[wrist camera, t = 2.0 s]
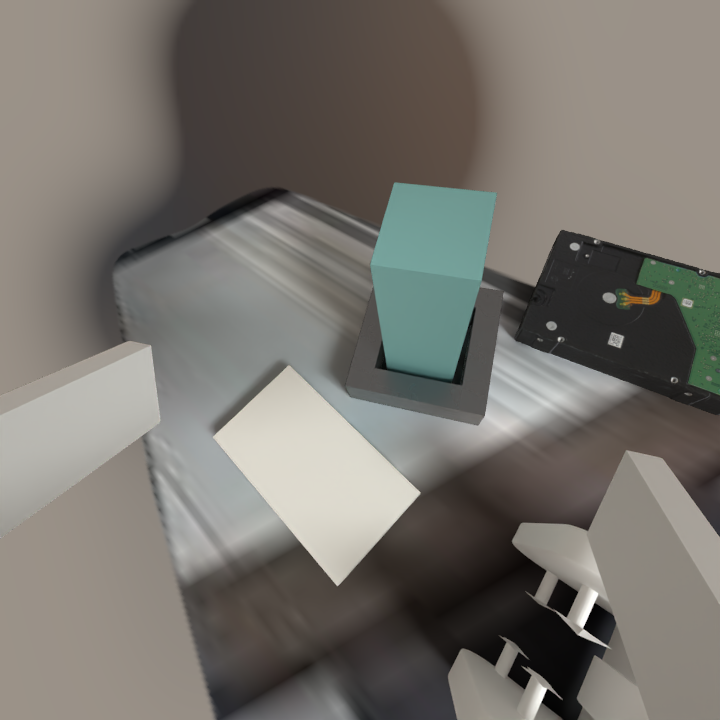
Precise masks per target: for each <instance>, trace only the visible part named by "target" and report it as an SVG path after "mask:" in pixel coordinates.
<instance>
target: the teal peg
mask: <svg viewBox="0 0 720 720" xmlns="http://www.w3.org/2000/svg"><path fill="white" fill-rule="evenodd" d="M496 196H497V193H494V192H484V191H475V190H465V189H454V188H445V187H434V186H424V185H415V184H405V183H394V185H393V189H392V192H391V196H390V199H389V202H388V206H387V209H386V212H385V216H384V219H383V223H382V226H381V229H380V233H379V236H378V239H377V243H376V246H375V250H374V253H373V256H372V260H371V263H370V267H371V273H372V279H373V285H374V291H375V298H376V304H377V310H378V316H379V322H380V328H381V334H382V340H383V346H384V352H385V358H386V364H387V370H388V371H392V372H397V373H402V374H407V375H411V376H416V377H421V378H426V379H431V380H436V381H441V382H446V383H452V380H453V377H454V373H455V370H456V366H457V363H458V359H459V356H460V353H461V349H462V346H463V342H464V339H465V335H466V332H467V329H468V325H469V322H470V318H471V315H472V311H473V308H474V305H475V301H476V298H477V294H478V291H479V288H480V284H481V281H482V275H483V269H484V264H485V258H486V252H487V247H488V241H489V235H490V229H491V224H492V218H493V212H494V207H495V201H496Z"/></svg>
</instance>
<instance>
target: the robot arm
mask: <svg viewBox="0 0 720 720" xmlns="http://www.w3.org/2000/svg"><path fill="white" fill-rule="evenodd" d="M160 422H161V420H160V412H159V404H158V396H157V389H156V381H155V373H154V365H153V358H152V350H151V345H147V344H142V343H138V342H133V341H128V342H125V343H123V344H120V345H118V346H116V347H114V348H111V349H109V350H106V351H104V352H101V353H99V354H97V355H94V356H92V357H90V358H87V359H85V360H83V361H80V362H78V363H75V364H73V365H71V366H68V367H66V368H64V369H61V370H59V371H57V372H54V373H52V374H50V375H47V376H45V377H42V378H40V379H38V380H35V381H33V382H30V383H28V384H26V385H24V386H21V387H18V388H16V389H14V390H12V391H9V392H7V393H5V394H2V395H0V538H2V537H3V536H4V535H6V534H7V533H9V532H10V531H11V530H13V529H14V528H15V527H17V526H18V525H20V524H21V523H22V522H24V521H25V520H27V519H28V518H29V517H31V516H32V515H33V514H35V513H36V512H38V511H39V510H40V509H42V508H43V507H44V506H46V505H47V504H48V503H50V502H51V501H52V500H54V499H55V498H57V497H58V496H60V495H61V494H62V493H64V492H65V491H66V490H68V489H69V488H70V487H72V486H73V485H75V484H76V483H78V482H79V481H80V480H82V479H83V478H84V477H86V476H87V475H88V474H90V473H91V472H93V471H94V470H95V469H97V468H98V467H100V466H101V465H102V464H104V463H105V462H107V461H108V460H109V459H111V458H112V457H113V456H115V455H116V454H118V453H119V452H120V451H122V450H123V449H124V448H126V447H127V446H129V445H130V444H131V443H133V442H134V441H135V440H137V439H138V438H140V437H141V436H142V435H144V434H145V433H147V432H148V431H149V430H151V429H152V428H153V427H155V426H156V425H158V424H159V423H160ZM587 537H588V540H589V543H590V546H591V549H592V552H593V555H594V558H595V561H596V564H597V567H598V570H599V573H600V576H601V579H602V582H603V585H604V588H605V591H606V594H607V597H608V600H609V603H610V606H611V609H612V611H613V614H614V617H615V620H616V623H617V626H618V629H619V632H620V635H621V638H622V641H623V644H624V647H625V650H626V653H627V656H628V659H629V662H630V665H631V668H632V671H633V674H634V677H635V680H636V683H637V686H638V689H639V692H640V695H641V697H642V700H643V703H644V706H645V709H646V712H647V715H648V718H649V720H720V537H719V536H718V534H717V533H716V532H715V530H714V529H713V528H712V526H711V525H710V523H709V522H708V521H707V519H706V518H705V517H704V515H703V514H702V512H701V511H700V510H699V508H698V507H697V505H696V504H695V503H694V501H693V500H692V499H691V497H690V496H689V494H688V493H687V492H686V490H685V489H684V488H683V486H682V485H681V483H680V482H679V481H678V479H677V478H676V476H675V475H674V474H673V472H672V471H671V470H670V468H669V467H668V465H667V464H666V463H665V461H664V460H663V459H662V458H659V457H655V456H650V455H646V454H641V453H637V452H632V451H628V450H626V452H625V454H624V456H623V458H622V460H621V462H620V464H619V467H618V469H617V471H616V473H615V475H614V477H613V479H612V481H611V484H610V486H609V488H608V490H607V492H606V494H605V496H604V498H603V500H602V503H601V505H600V507H599V509H598V511H597V513H596V515H595V517H594V520H593V522H592V524H591V526H590V528H589V530H588V532H587Z"/></svg>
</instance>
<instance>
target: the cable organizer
mask: <svg viewBox="0 0 720 720" xmlns="http://www.w3.org/2000/svg"><path fill="white" fill-rule="evenodd" d="M587 532H588V531H586V530H583V529H581V528H578V527H575V526H572V525H568V524H546V523H521V524H520V526H519V528H518V530H517V532H516V534H515V536H514V538H513V540H512V543H513V545H514V546H515V547H516V548H517V549H518V550H519V551H520V552H522V553H523V554H524V555H525V556H527V557H528V558H529V559H531V560H532V561H533V562H535V563H536V564H538V565H539V566H540V567H542V568H543V569H545V570H546V573H545V576H544V578H543V580H542V582H541V584H540V586H539V588H538V590H537V593H536V595H535V597H533V596H532V595H531V594H529V593H528V592H527V593H528V594H529V595H530V596H531V597H532V598H533V599H534V600H535V601H536V602H537V603H538V604H540V605H542V606H544V607H546V608H548V609H550V610H552V609H551V608H549V607H548V606H547V603H548V601H549V599H550V596H551V594H552V592H553V590H554V588H555V585H556V583H557V581H558V579H560V580H561V581H563V582H564V583H566V584H567V585H569V586H570V587H572V588H573V589H575V590H576V591H578V594H577V597H576V599H575V601H574V603H573V605H572V607H571V610H570V612H569V614H568V616H567V618H566V617H565V616H563V615H562V614H560V613H559V612H557V611H556V610H555V611H556V613H558V614H559V616H560V617H561V618H562V619H563V620H564V621H565V622H566V623H567V624H568V625H569V626H570V627H571V628H572V629H573V630H574V632H575V633H576V634H577V635H579V636H581V637H584V638H586V639H588V640H591V641H593V642H596V643H598V644H600V645H603V646H605V647H607V649H606V651H605V654H604V656H603V659H602V660H601V659H600V658H598V657H597V656H596V655H594V657H593V660H592V662H591V665H590V667H589V670H588V672H587V674H586V677H585V679H584V682H583V684H582V686H581V689H580V691H579V694H578V696H577V700H578V701H579V703H580V704H581V705H582V706H583V708H582V710H581V713H580V715H579V717H578V720H649V718H648V715H647V712H646V709H645V706H644V703H643V700H642V697H641V695H640V692H639V689H638V686H637V683H636V680H635V677H634V674H633V671H632V668H631V665H630V662H629V659H628V656H627V653H626V650H625V647H624V644H623V641H622V638H621V635H620V632H619V629H618V626H617V624H616V627H615V629H614V632H613V634H612V636H611V639H610V641H609V644H608V646H607V645H605V644H604V643H602V642H601V641H599V640H598V639H597V638H595V637H594V636H592V635H591V634H589V633H588V632H587V631H585V630H584V629H583V627H584V625H585V623H586V621H587V618H588V616H589V614H590V612H591V609H592V607H593V605H594V603H596V604H597V605H599V606H600V607H602V608H603V609H605V610H606V611H608V612H609V613H611V614H612V615H614V614H613V611H612V609H611V606H610V603H609V600H608V597H607V594H606V591H605V588H604V585H603V582H602V579H601V576H600V573H599V570H598V567H597V564H596V561H595V558H594V555H593V552H592V549H591V546H590V543H589V540H588V537H587ZM552 611H554V610H552ZM555 611H554V612H555ZM500 637H501V636H500ZM501 638H502V639H504V640H505V641H506V642H507V643H506V645H505V647H504V649H503V651H502V653H501V655H500V657H499V659H498V662H497V664H496V666H494V665H492V664H491V663H489V662H488V661H486V660H485V659H483V658H482V657H480V656H479V655H477V654H475V653H473V652H472V651H469V650H467V649H461V650H460V652H459V654H458V656H457V658H456V660H455V662H454V664H453V666H452V668H451V670H450V672H449V674H448V680H449V684H450V689H451V693H452V698H453V702H454V707H455V712H456V716H457V720H563V719H562V718H561V717H559V716H558V715H557V714H555V713H554V712H553V711H552V710H550V709H549V708H548V707H546V706H545V705H544V704H543V703H541V702H542V699H543V697H544V695H545V693H546V690H547V689H549V690H550V691H552V692H553V693H554V694H555V695H557V696H558V697H559V698H560V696H559V695H558V694H557V693H556V692H555V691H554V690H553V688H552V687H551V685H550V684H549V683H548V682H547V681H546V680H545V679H544V678H543V677H542V676H540V675H539V674H537V673H536V672H534V671H533V670H532V669H530V668H529V667H528V669H529V670H528V669H526V668H524V667H523V668H524V669H525V670H526V671H528V672H529V673H530V674H531V675H532V676H531V678H530V680H529V682H528V684H527V687H526V689H523V688H522V687H521V686H519V685H518V684H517V683H516V682H514V681H513V680H512V679H510V678H509V677H508V676H507V675H508V673H509V671H510V669H511V667H512V665H513V663H514V660H515V658H516V656H517V654H518V652H520V653H521V654H522V655H524V656H525V657H526V655H525V654H524V653H523V651H522V650H521V649H520V648H519V647H518V646H517V645H516V644H515V643H513V642H512V641H510V640H508V639H507V638H505V637H504V638H503V637H501ZM526 658H527V657H526ZM527 659H528V658H527ZM560 699H561V698H560Z"/></svg>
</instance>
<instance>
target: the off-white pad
mask: <svg viewBox="0 0 720 720" xmlns="http://www.w3.org/2000/svg"><path fill="white" fill-rule="evenodd" d="M213 438H214V439H215V440H216V441H217V443H218V444H219V445H220V446H221V447H222V449H223V450H224V451H225V452H226V453H227V455H228V456H229V457H230V458H231V459H232V461H233V462H234V463H235V464H236V465H237V467H238V468H239V469H240V470H241V471H242V473H243V474H244V475H245V476H246V477H247V479H248V480H249V481H250V482H251V483H252V485H253V486H254V487H255V488H256V489H257V491H258V492H259V493H260V494H261V495H262V497H263V498H264V499H265V500H266V501H267V503H268V504H269V505H270V506H271V507H272V509H273V510H274V511H275V512H276V513H277V515H278V516H279V517H280V518H281V519H282V521H283V522H284V523H285V524H286V525H287V527H288V528H289V529H290V530H291V531H292V533H293V534H294V535H295V536H296V537H297V539H298V540H299V541H300V542H301V543H302V545H303V546H304V547H305V548H306V549H307V551H308V552H309V553H310V554H311V555H312V557H313V558H314V559H315V560H316V561H317V563H318V564H319V565H320V566H321V567H322V569H323V570H324V571H325V572H326V573H327V575H328V576H329V577H330V578H331V579H332V581H333V582H334V583H335V584H336V585H337V586H338V585H340V584H341V583H342V582H343V580H344V579H345V578H346V577H347V576H348V575H349V574H350V573H351V571H352V570H353V569H354V568H355V567H356V566H357V565H358V564H359V562H360V561H361V560H362V559H363V558H364V557H365V556H366V555H367V553H368V552H369V551H370V550H371V549H372V548H373V547H374V546H375V544H376V543H377V542H378V541H379V540H380V539H381V538H382V537H383V535H384V534H385V533H386V532H387V531H388V530H389V529H390V528H391V526H392V525H393V524H394V523H395V522H396V521H397V520H398V519H399V517H400V516H401V515H402V514H403V513H404V512H405V511H406V509H407V508H408V507H409V506H410V505H411V504H412V503H413V502H414V500H415V499H416V498H417V497H418V496H419V495H420V492H419V491H418V490H417V489H416V488H415V487H414V486H413V485H412V484H411V483H410V482H409V481H408V480H407V479H406V478H405V477H404V476H403V475H402V474H401V473H400V472H399V471H398V470H397V469H396V468H395V467H394V466H393V465H391V464H390V463H389V462H388V461H387V460H386V459H385V458H384V457H383V456H382V455H381V454H380V453H379V452H378V451H377V450H376V449H375V448H374V447H373V446H372V445H371V444H370V443H369V442H368V441H367V440H366V439H365V438H364V437H363V436H362V435H361V434H360V433H359V432H358V431H357V430H355V429H354V428H353V427H352V426H351V425H350V424H349V423H348V422H347V421H346V420H345V419H344V418H343V417H342V416H341V415H340V414H339V413H338V412H337V411H336V410H335V409H334V408H333V407H332V406H331V405H330V404H329V403H328V402H327V401H326V400H325V399H324V398H323V397H322V396H321V395H320V394H318V393H317V392H316V391H315V390H314V389H313V388H312V387H311V386H310V385H309V384H308V383H307V382H306V381H305V380H304V379H303V378H302V377H301V376H300V375H299V374H298V373H297V372H296V371H295V370H294V369H293V368H292V367H291V366H290V365H288V366H287V367H286V368H285V369H284V370H283V371H282V372H281V373H280V374H279V375H278V376H277V377H276V378H275V379H274V380H273V381H272V382H270V383H269V384H268V385H267V386H266V387H265V388H264V389H263V390H262V391H261V392H260V393H259V394H258V395H257V396H256V397H255V398H254V399H252V400H251V401H250V402H249V403H248V404H247V405H246V406H245V407H244V408H243V409H242V410H241V411H240V412H239V413H238V414H237V415H236V416H234V417H233V418H232V419H231V420H230V421H229V422H228V423H227V424H226V425H225V426H224V427H223V428H222V429H221V430H220V431H219V432H218V433H216V434H215V435H214V436H213Z"/></svg>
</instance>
